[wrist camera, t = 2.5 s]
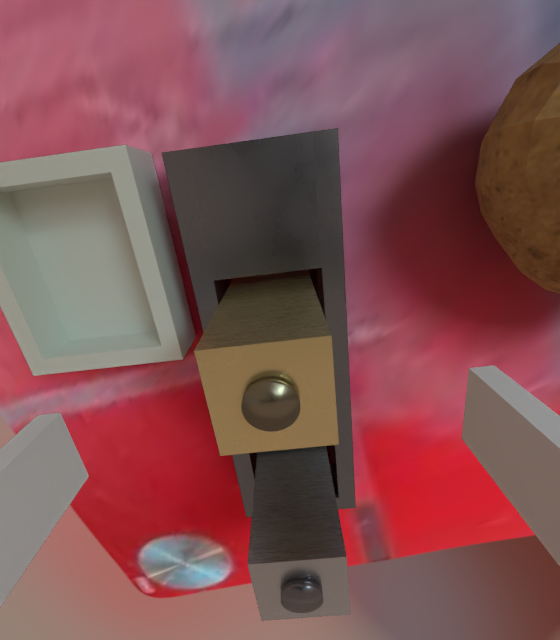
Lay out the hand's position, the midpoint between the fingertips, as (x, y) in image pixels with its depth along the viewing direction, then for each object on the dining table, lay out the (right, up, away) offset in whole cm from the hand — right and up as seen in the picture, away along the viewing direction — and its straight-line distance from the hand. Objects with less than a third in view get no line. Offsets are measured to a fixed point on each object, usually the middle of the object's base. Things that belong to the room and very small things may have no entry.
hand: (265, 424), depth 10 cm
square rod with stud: (+1, -6, +14) cm, 15 cm away
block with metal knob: (0, +4, +10) cm, 11 cm away
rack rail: (+1, +2, +11) cm, 11 cm away
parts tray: (-10, +7, +9) cm, 15 cm away
